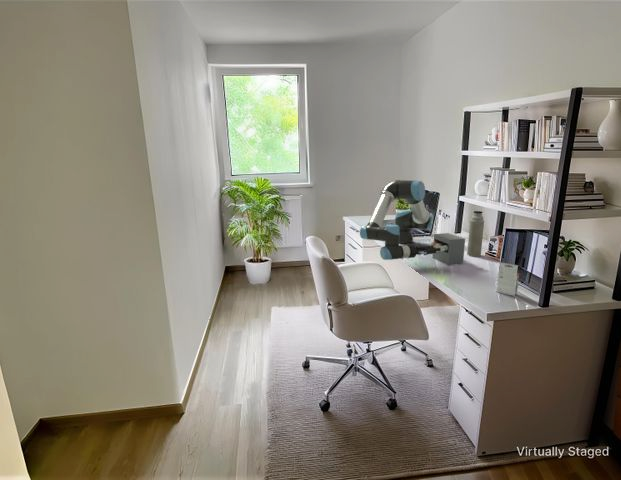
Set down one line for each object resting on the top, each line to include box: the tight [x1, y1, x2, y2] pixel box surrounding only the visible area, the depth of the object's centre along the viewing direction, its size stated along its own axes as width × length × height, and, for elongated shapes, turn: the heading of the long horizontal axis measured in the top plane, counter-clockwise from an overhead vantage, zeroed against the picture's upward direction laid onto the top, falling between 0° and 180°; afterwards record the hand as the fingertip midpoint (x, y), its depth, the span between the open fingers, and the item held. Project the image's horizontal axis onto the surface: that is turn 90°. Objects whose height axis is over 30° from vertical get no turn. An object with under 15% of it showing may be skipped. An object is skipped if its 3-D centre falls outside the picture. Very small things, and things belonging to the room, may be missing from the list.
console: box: [431, 232, 466, 266], centre depth 221 cm, size 16×10×15 cm, turn 15°
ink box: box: [495, 261, 520, 297], centre depth 169 cm, size 4×8×15 cm, turn 47°
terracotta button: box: [430, 241, 440, 247], centre depth 224 cm, size 3×5×3 cm, turn 105°
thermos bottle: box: [466, 210, 485, 258], centre depth 231 cm, size 8×8×28 cm
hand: (443, 248), depth 215 cm, fingers closed
